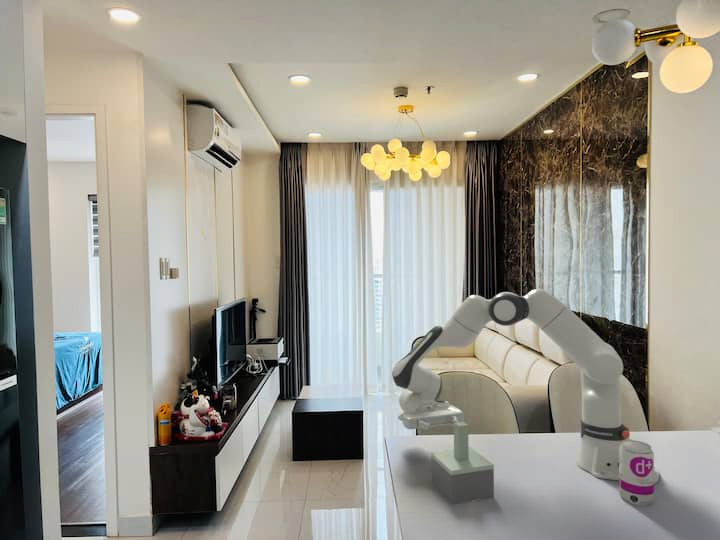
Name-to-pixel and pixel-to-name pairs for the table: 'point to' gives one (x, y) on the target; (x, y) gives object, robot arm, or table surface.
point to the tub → (462, 484)
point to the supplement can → (636, 472)
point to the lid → (461, 454)
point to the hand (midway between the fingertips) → (442, 425)
